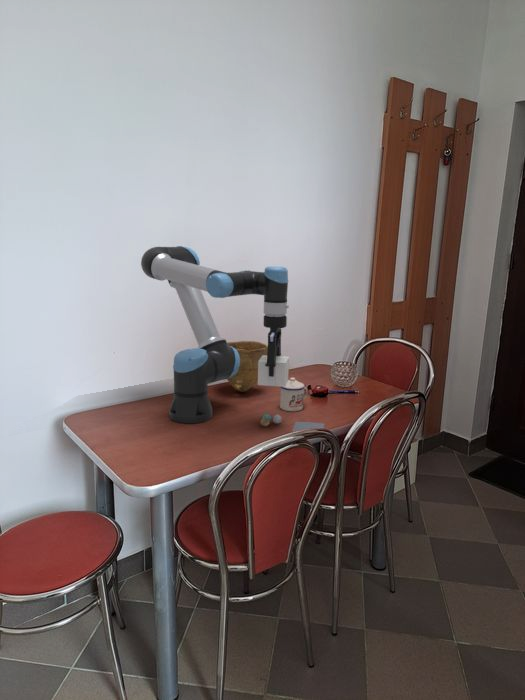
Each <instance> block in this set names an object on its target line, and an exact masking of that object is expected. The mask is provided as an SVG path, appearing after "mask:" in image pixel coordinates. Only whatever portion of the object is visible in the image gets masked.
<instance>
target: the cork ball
mask: <svg viewBox="0 0 525 700" xmlns="http://www.w3.org/2000/svg"><path fill="white" fill-rule="evenodd" d="M270 423H271V421H269V419H268V418H263V417H262V419H261V420H260V424H261V426H263V427H268V426H269V425H270Z"/></svg>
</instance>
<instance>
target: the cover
mask: <svg viewBox="0 0 525 700" xmlns="http://www.w3.org/2000/svg"><path fill="white" fill-rule="evenodd" d="M266 363H267V355H263V356H262V357H261V358H260V360H259V361H258V380H257V386H266V387H267V368H268V366H265V364H266ZM289 363H290V356H285V355H284V356H283V355H281V356H276V386H275V387H280V386H281V387H285V386H286V383H287V381H288V380H289V370H290V369H289V368H290V367H289V366H290V364H289ZM281 387H280V388H281Z"/></svg>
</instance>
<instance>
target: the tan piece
mask: <svg viewBox="0 0 525 700" xmlns="http://www.w3.org/2000/svg"><path fill="white" fill-rule="evenodd" d="M227 344H228V346H232V347H233V348H235V349H236V350H237V352H238V354H239V357H240V366H239V370H238V372H237V373H236V374H235V375H234V376H232V377H230V378H228V379H226V381H228V383H229V384H230V385H231V387H233V389H235V390H237V391H238V392H241V393H245V392H247V391H248V390H250V389H251V388H253V386H254V385H255V384H256V383H257V382H258V361H259V360H260V358H261V357H262V356H263V355H267V350H268V344H266V343H262V342H259V341H255V340H254V341H253V340H249V341H248V340H241V341H240V340H239V341H228V342H227Z"/></svg>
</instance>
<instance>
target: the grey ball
mask: <svg viewBox="0 0 525 700" xmlns="http://www.w3.org/2000/svg"><path fill="white" fill-rule="evenodd" d="M272 421H273V423H274V424H280V423H281V422H282V416H281V415H280V414H275V415H274V416H273V417H272Z"/></svg>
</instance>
